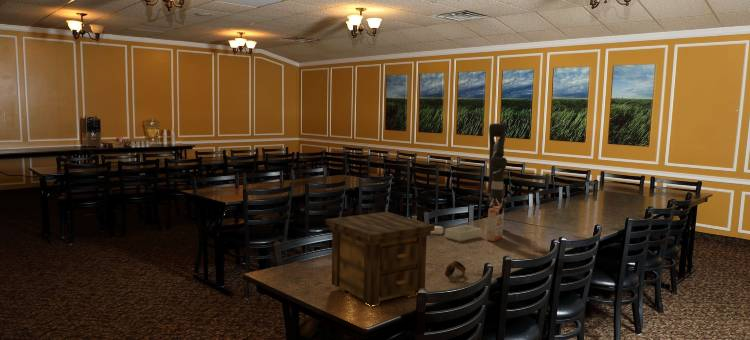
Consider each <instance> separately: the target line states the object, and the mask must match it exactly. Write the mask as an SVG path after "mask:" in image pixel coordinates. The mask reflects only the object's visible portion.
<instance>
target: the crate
mask: <svg viewBox="0 0 750 340" xmlns="http://www.w3.org/2000/svg"><path fill="white" fill-rule="evenodd" d="M324 223H325V224H324V225H326V226H328V230H329V231H332V233H331V235H332V237H331V238H332V239H331V240H332V242H331V285H332V286H334V287H336V288H338V290H339V289H340V290H342V291H344V292H345V291H348V292H349V293H350V294H352V295H354V296H355V297H357V298H359V299H361V300H362V301H363V302H364V304H365V303H367V304H369V305H370V306H372V305H377V304H380V305H381V302H383V301H386V300H391V299H394V298H395V299H396V298H398V297H399V298H400V297H402V296H405V295H407V296H409V297H410V296H414V295H416V293H417V289H419V288H424V289H425V290H426V270H427V269H426V268H427V267H426V265H427V243H428V242H427V241H428V240H427V237H429V236H431V235H432V233H431V231H434V228H435V226H436V225H435V224H432V223H431V224H430V223H427V222H423V221H420V220H416V219H414V218H410V217H407V216H402V215H400V214H396V213H393V212H388V211H383V212H374V213H373V212H372V213H367V214H365V213H364V214H358V215H349V216H340V217H332V218H325V222H324ZM340 290H339V291H340ZM342 291H341V292H342ZM344 292H343V293H344ZM348 292H347V293H348ZM345 293H346V292H345ZM417 294H418V293H417ZM407 296H406V297H407ZM409 297H408V298H409ZM414 297H415V296H414ZM410 298H411V297H410Z"/></svg>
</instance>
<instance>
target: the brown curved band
mask: <svg viewBox="0 0 750 340" xmlns="http://www.w3.org/2000/svg"><path fill="white" fill-rule="evenodd" d="M456 269H457V270H458V271H460V272H462V274H461V277H464V276H465V274H466V270H467V269H466V267H465V266H464V265H463V264H462V263H461V262H460V261H457V260H453V262H450V263H449V264H448V265H446V268H445V272H444V274H445V276H446V277H448V276H450V277H452V276H453V274H454V272H455V271H456Z"/></svg>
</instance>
